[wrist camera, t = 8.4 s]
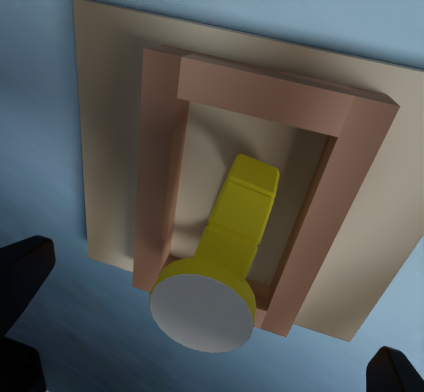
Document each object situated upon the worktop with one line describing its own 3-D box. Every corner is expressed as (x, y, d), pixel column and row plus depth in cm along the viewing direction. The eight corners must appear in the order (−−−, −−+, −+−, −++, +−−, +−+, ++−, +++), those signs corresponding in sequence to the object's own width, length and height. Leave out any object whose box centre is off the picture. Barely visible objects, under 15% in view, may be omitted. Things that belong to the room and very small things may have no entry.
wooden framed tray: (98, 246, 18) (71, 277, 15) (89, -1, 11) (40, -5, 9) (346, 325, 16) (354, 372, 14) (501, 86, 10) (558, 106, 7)
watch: (230, 126, 12) (181, 192, 6) (300, 153, 11) (308, 244, 6) (186, 245, 14) (127, 359, 9) (241, 269, 14) (214, 397, 9)
